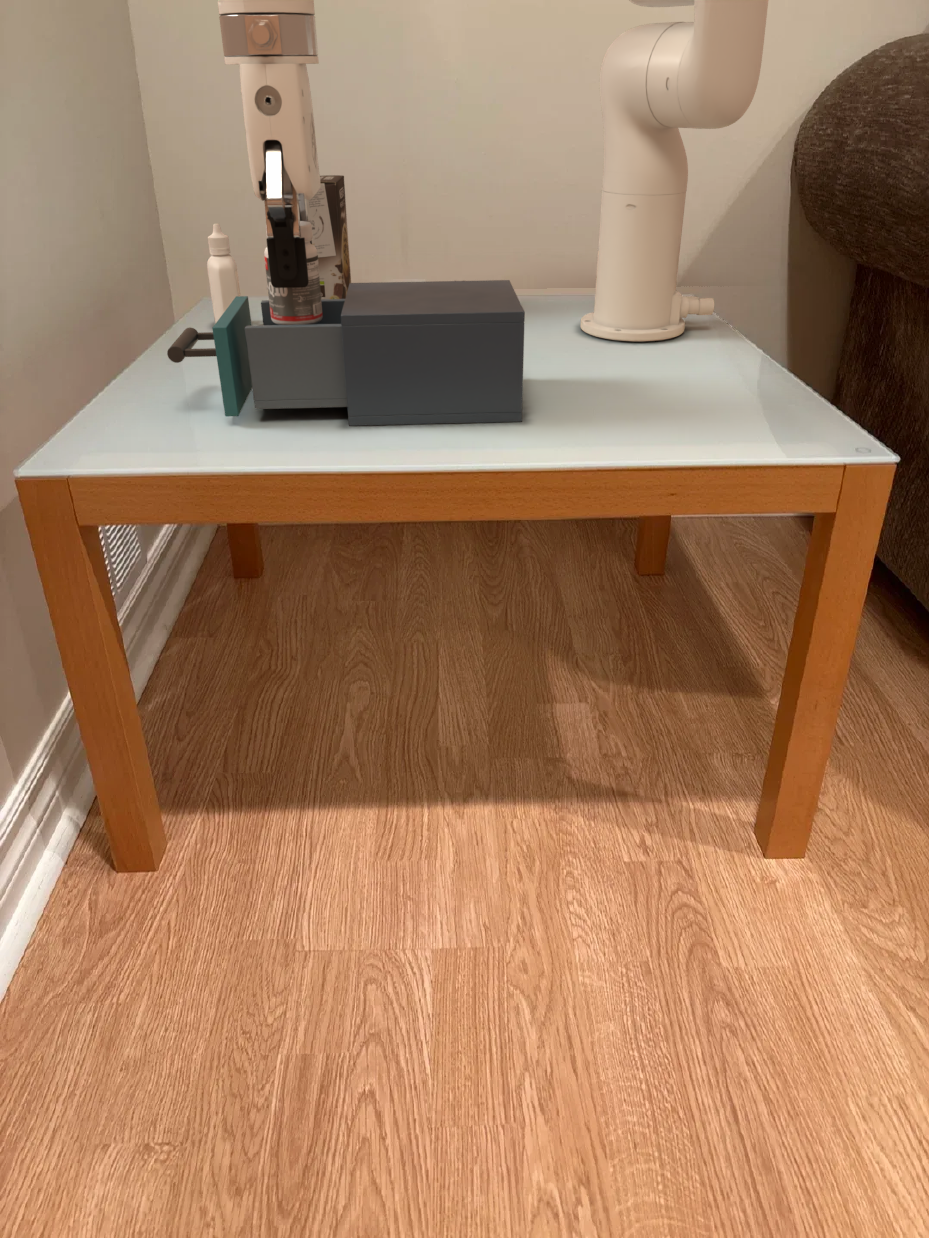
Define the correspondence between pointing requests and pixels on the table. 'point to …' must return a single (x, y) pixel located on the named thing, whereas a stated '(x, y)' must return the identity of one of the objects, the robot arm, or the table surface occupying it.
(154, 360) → the table surface
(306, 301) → the pill bottle
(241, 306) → the drawer
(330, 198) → the coffee box
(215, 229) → the eye dropper bottle
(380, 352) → the cabinet
